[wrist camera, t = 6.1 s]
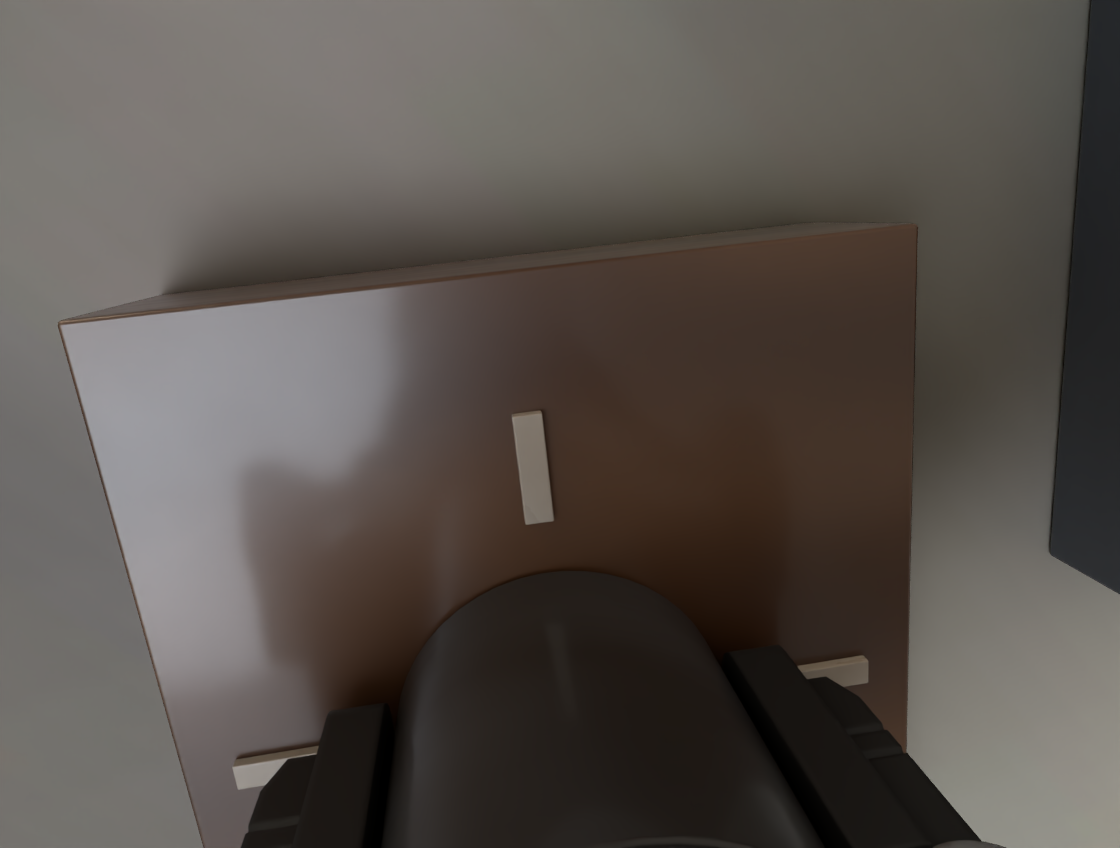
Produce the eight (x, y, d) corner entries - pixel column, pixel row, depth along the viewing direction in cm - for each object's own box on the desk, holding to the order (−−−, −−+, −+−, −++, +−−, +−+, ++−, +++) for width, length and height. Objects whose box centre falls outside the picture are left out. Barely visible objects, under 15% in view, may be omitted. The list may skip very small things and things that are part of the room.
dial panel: (158, 294, 11) (46, 323, 8) (812, 221, 12) (927, 223, 9) (312, 934, 15) (273, 1123, 11) (820, 838, 15) (908, 989, 12)
